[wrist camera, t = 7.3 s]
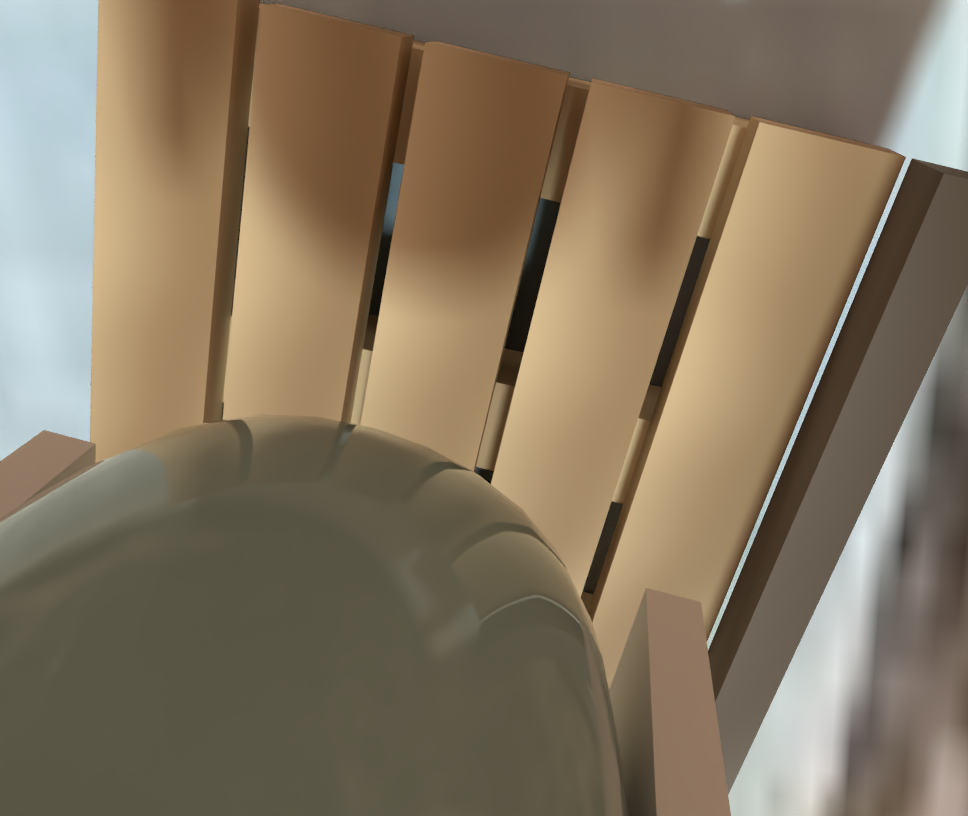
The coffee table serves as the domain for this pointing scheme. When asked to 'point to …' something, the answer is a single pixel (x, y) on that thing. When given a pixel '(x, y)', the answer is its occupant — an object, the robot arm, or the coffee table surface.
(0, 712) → the cup
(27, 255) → the coffee table surface
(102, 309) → the pallet dock
